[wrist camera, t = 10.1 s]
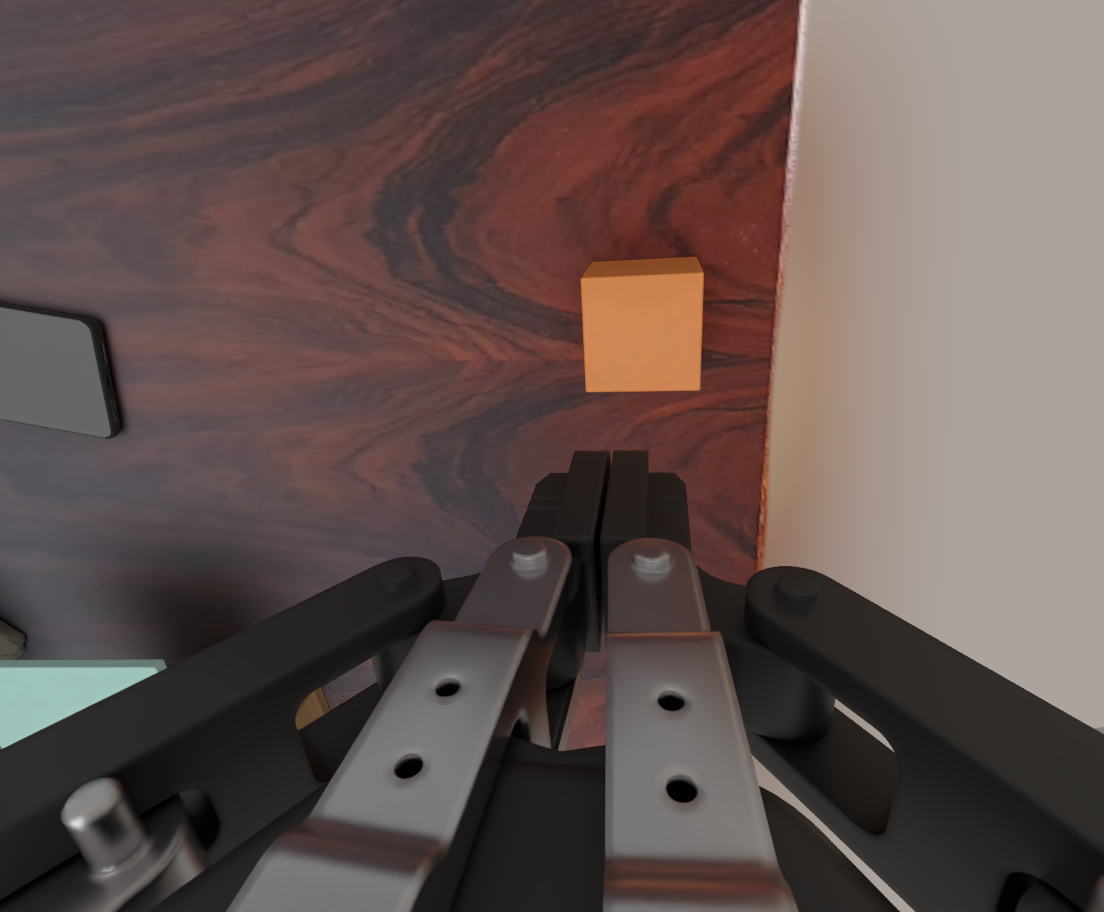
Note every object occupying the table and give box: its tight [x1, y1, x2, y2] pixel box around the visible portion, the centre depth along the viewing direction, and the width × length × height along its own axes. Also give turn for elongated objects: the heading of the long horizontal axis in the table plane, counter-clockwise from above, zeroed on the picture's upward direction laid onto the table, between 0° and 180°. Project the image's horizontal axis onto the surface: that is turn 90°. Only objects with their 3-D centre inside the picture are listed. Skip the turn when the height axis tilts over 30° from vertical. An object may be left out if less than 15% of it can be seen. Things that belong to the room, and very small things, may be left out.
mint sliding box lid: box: [0, 659, 167, 749], centre depth 32 cm, size 12×14×4 cm
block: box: [581, 257, 704, 392], centre depth 26 cm, size 5×5×5 cm
